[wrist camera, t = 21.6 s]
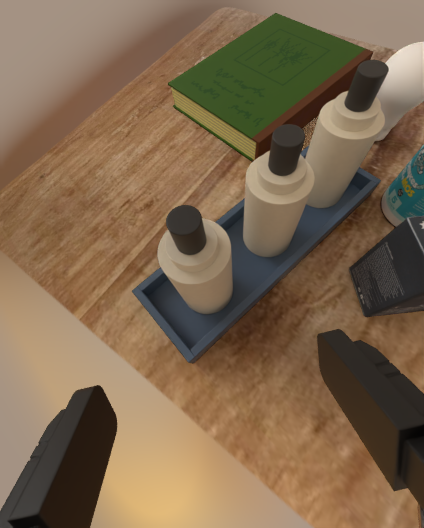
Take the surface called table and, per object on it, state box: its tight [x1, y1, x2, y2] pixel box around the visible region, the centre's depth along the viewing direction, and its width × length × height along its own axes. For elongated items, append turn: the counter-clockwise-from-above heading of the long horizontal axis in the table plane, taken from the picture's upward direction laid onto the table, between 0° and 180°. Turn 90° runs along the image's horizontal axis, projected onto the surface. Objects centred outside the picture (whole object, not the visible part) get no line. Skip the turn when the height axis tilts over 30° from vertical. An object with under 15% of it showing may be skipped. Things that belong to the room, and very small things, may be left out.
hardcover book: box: [168, 13, 373, 162], centre depth 39 cm, size 25×19×4 cm
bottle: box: [158, 205, 233, 314], centre depth 22 cm, size 6×6×14 cm
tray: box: [132, 146, 381, 363], centre depth 29 cm, size 30×10×3 cm, turn 132°
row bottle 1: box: [243, 124, 315, 257], centre depth 24 cm, size 6×6×14 cm
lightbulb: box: [375, 42, 424, 141], centre depth 30 cm, size 6×6×11 cm
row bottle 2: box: [305, 60, 389, 208], centre depth 26 cm, size 6×6×14 cm
